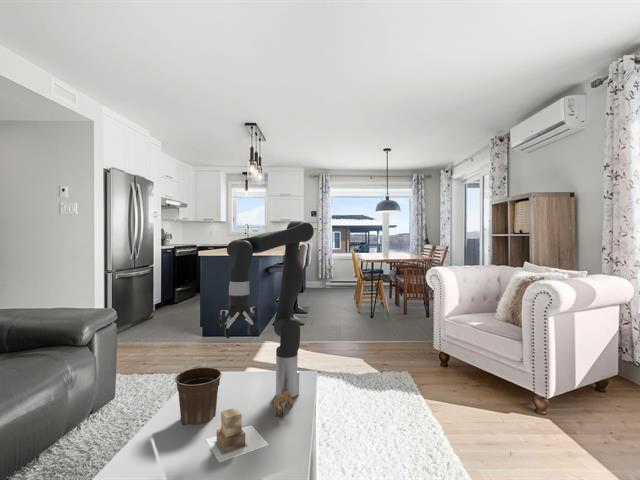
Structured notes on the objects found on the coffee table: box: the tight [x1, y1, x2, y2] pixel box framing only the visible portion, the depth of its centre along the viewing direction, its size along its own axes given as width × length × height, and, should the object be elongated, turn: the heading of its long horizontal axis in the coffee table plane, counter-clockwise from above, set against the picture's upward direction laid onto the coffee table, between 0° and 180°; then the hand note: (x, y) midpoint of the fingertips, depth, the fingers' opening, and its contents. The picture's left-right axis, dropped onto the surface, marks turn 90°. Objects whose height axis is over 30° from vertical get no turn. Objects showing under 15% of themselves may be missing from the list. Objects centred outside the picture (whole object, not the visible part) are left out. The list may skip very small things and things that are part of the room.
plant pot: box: [174, 366, 223, 426], centre depth 127 cm, size 16×16×16 cm
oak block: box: [220, 407, 243, 437], centre depth 110 cm, size 5×5×6 cm
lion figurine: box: [273, 391, 294, 418], centre depth 133 cm, size 15×5×9 cm, turn 170°
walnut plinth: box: [216, 428, 245, 453], centre depth 110 cm, size 7×7×4 cm
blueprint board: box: [205, 425, 270, 464], centre depth 111 cm, size 16×14×1 cm
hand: (238, 336), depth 130 cm, fingers open, 8 cm apart
